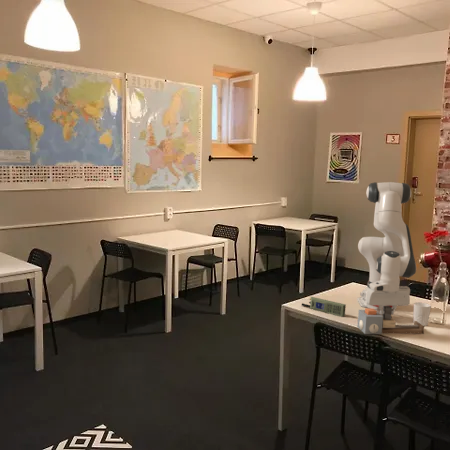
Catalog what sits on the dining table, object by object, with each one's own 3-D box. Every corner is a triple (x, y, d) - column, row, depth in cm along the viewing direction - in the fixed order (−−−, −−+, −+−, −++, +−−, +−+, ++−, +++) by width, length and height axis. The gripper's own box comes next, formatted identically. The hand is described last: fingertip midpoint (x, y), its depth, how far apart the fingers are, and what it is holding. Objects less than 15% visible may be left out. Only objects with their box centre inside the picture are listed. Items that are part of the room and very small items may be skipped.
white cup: (420, 327, 240) (422, 307, 239) (408, 322, 247) (410, 302, 246) (432, 325, 243) (434, 306, 242) (420, 320, 251) (422, 301, 249)
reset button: (364, 314, 234) (365, 308, 233) (372, 314, 234) (373, 308, 234) (367, 317, 230) (368, 310, 229) (376, 317, 230) (376, 311, 230)
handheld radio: (342, 317, 251) (300, 307, 266) (345, 316, 254) (303, 306, 269) (343, 305, 250) (301, 295, 266) (346, 304, 253) (304, 294, 268)
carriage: (377, 322, 236) (378, 304, 235) (389, 322, 237) (390, 304, 236) (382, 327, 230) (384, 309, 228) (395, 327, 230) (396, 309, 229)
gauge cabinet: (356, 326, 237) (358, 309, 236) (373, 326, 238) (374, 309, 237) (364, 334, 227) (366, 316, 226) (381, 334, 228) (383, 316, 227)
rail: (374, 327, 237) (374, 320, 237) (415, 327, 239) (416, 320, 239) (380, 333, 229) (381, 326, 229) (423, 333, 231) (424, 326, 231)
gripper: (407, 284, 235) (404, 312, 237) (366, 283, 233) (364, 311, 235) (413, 287, 228) (410, 316, 230) (371, 287, 227) (368, 316, 228)
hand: (386, 314), depth 233 cm, fingers closed on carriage, 3 cm apart
